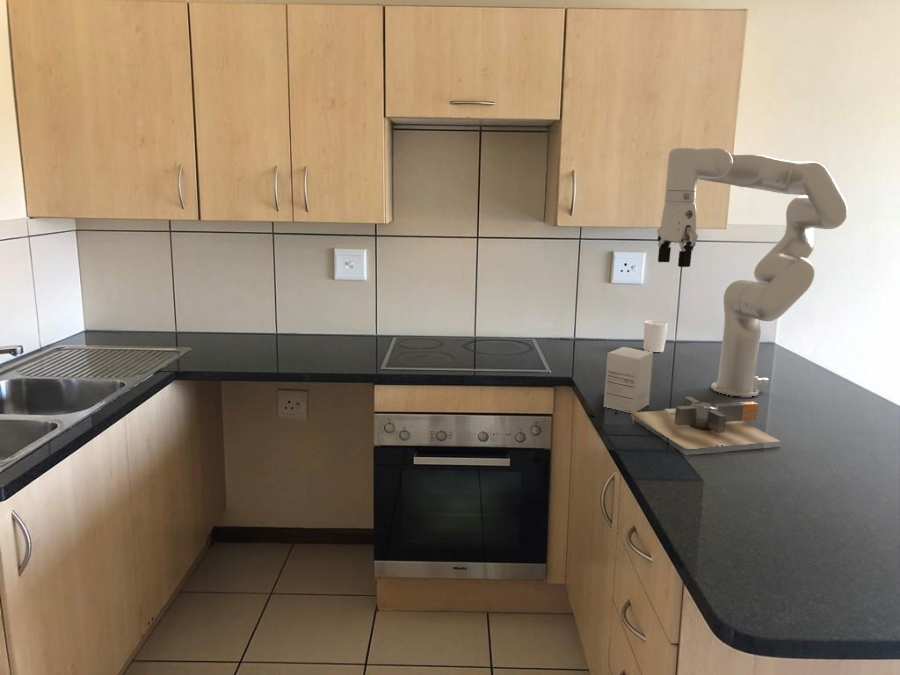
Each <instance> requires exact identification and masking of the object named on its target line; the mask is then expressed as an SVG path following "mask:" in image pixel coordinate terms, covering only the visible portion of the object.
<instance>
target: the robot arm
mask: <svg viewBox="0 0 900 675" xmlns="http://www.w3.org/2000/svg"><path fill="white" fill-rule="evenodd" d="M667 160H668V161H667V162H668V163H667V173H666V182H665V183H666V184H665V194H664V202H663V203H664V207H663V210H662V216H661V221H660V222H661V223H660V227H659V228H658V229H657V230H656V232H657V241H658V244H657V246H658V256H657V262H658V263H669V262H670V261H671V249H672V247H671V244H672V243H677V244H678V245H679V248H680V250H679V252H678V263H677V265H678V267H679V268H690V267H691V261H692V252H694V247H695V246H696V243H697V240H698V237H699V235H698V234H697V220H698V218H697V206H696V199H697V198H696V197H697V187H698V180H699V181H706V182H713V183H719V184H723V185H724V184H725V185H731V186H735V187H740V188H749V189H755V190H762V191H767V192H771V193H777V194H782V195H783V194H784V195H800V196H797V197H795V198H793V199H792V200H791V201H790V202H789V203H788V205H787V208H786V212H785V218H786V220H785V222H786V228H785V233H784V235H783V237H782V238H781V239H780V240H779V241H778V243H777V244H776V245H775V246H773V248H772V249H771V250H770V251H768V253H766V255H765V256H764V257H763V258H762V259H760V261H759V262H758V263H757V264H756V266H755V267H754V271H753V274H754V275H753V276H754V278H755V280H756V281H753V280H748V279H740V280H739V279H738V280H735V281H733V282H731V283H730V284H729V285H728V286H727V287H726V289H725V291H724V294H723V310H724V311H723V312H724V314H723V315H724V320H723V322H724V324H723V326H724V327H723V333H722V339H721V340H722V341H721V351H720V359H719V368H718V376H717V381H714V382H713V383H711V384H710V385H711V387H710V388H711V390H712V389H713V390H712V391H713V392H715V391H717V392H719V393H718V394H720V393H722V394H721V395H723V394H726V395H725V396H728V395H730V396H729V397H733V396H741V397H740V398H753V397H752V396H754V397H757V396H759V394H760V389H759V388H758V387H759V386H760V385H761V386H762V385H763V386H764V385H768V384H769V383H770V380H769V378H768V377H760V378H759V376H757V375H756V370H757V363H758V354H759V350H760V348H759V346H760V341H761V335H762V333H761V321H762V322H773V321H776V320H777V319H779V318H780V317H782V316H783V315H784V314H785V313H786V312H787V311H788V310H789V309H790V308H791V307H792V306H793V305H794V304H796V302H797V301H798V300H799V299H800V298H801V297H802V296H803V295H804V294H805V293H806V292H807V291H808V290H809V289H810V287H811V285H812V283H813V281H814V278H815V269H814V268H815V267H814V265H813V264H812V262H811V261H810V260H809V259H808V258H809V257H810V255H811V254H812V253H813V250H814V246H815V236H814V229H822V230H833V229H836V228H838V227H840V226H842V225H843V223H844V222H845V221H846V220H847V216H848V205H847V202H846V200H845V197H844V196H843V194H842V192H841V191H840V188H839V186H838V185H837V183H836V181H835V180H834V178H833V176H832V175H831V173H830V172H829V171H828V169H827V168H826V166H824V165H823V164H821V163H819V162H817V161H791V160H786V159H780V158H774V157H770V156H766V155H758V154H731V153H730V152H728V151H727V150H726V149H723V148H719V147H717V148H715V147H714V148H711V147H710V148H689V147H685V148H684V147H683V148H682V147H681V148H680V147H679V148H678V147H677V148H675V147H674V148H673V149H671V150H670V151H669V154H668V159H667ZM717 392H716V393H717Z"/></svg>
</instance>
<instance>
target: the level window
mask: <svg viewBox="0 0 900 675" xmlns="http://www.w3.org/2000/svg"><path fill="white" fill-rule="evenodd" d="M664 410H665V412H666V413H668V414H670V415H675V411H676V407H675V408H664Z"/></svg>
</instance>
